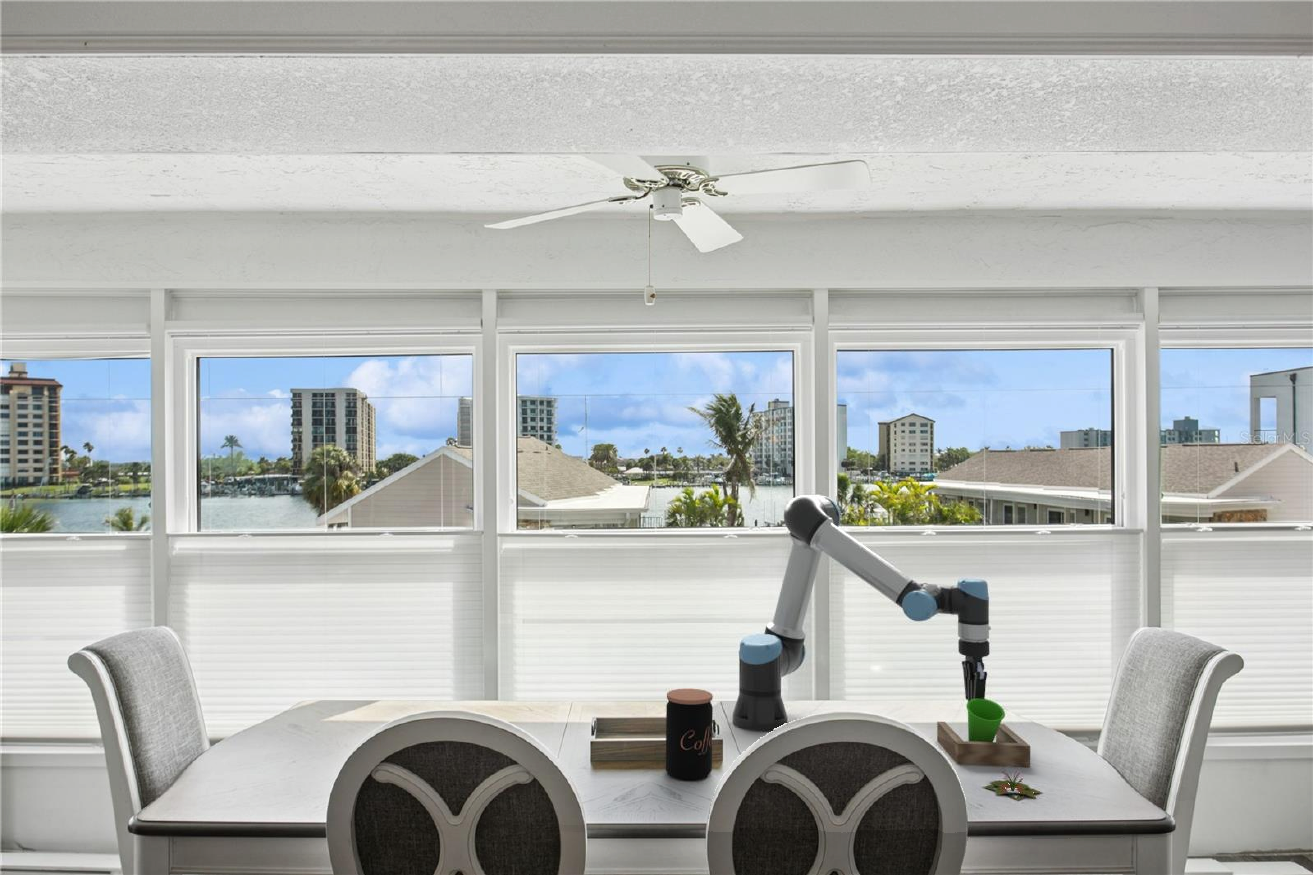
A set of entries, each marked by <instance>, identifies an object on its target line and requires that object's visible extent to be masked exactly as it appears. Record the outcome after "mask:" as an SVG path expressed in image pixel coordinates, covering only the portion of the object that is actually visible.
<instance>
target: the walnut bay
mask: <svg viewBox="0 0 1313 875" xmlns="http://www.w3.org/2000/svg"><path fill="white" fill-rule="evenodd" d="M936 726H937V727H936V728H937V729H936V734H937V735H936V742H938V744H940V747H942V748H943V750H944V751H945V752H946V753H947V754H948V755H949V756H950V758H951V759H952V761H954V762H955V764H956V765H958V766H979V767H980V766H984V767H985V766H986V767H1007V766H1022V767H1021V768H1031V745H1030V744H1028V743H1027V742H1026V741H1025V740H1024V739H1023V738H1022V737H1020V736H1019V735H1018V734H1017V733H1015V732H1014V731H1013V730H1012V729H1011V728H1010V727H1009V726H1008V725H1006V724H1005V723H1000V726H999V728H998V731H997V733H996V736H995V742H994V741H993V742H973V741H969V740H968V741H967V740H963V739H962V738H961V737H960V736H959V735H958V734H957V733H956V731H954V730H953V728H951V726H949V724H948V723H947V722H946V721H937V722H936ZM1023 766H1024V767H1023Z"/></svg>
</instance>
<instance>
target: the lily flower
mask: <svg viewBox="0 0 1313 875" xmlns="http://www.w3.org/2000/svg"><path fill="white" fill-rule="evenodd" d="M1001 773H1002V774H1004V777H1002V780H994V781H993V780H992V781H990V783H991V784H987V785H985V786H983V788H985V789H989V790H993V791H995V793H996V794H995V796H1000V795H1004V794H1006V795H1007V796H1009V797H1011V798H1013V799H1015V800H1016V801H1017V802H1019V801H1020V800H1022V799H1023V798H1024V797H1025V796H1024V795H1026V796H1028V797H1030V798H1033V799H1035V800H1037V798H1036V795H1035V794H1040V793H1041V794H1042V793H1043V792H1042V791H1040V790H1037V789H1034V788H1030V787H1029V785H1028V784H1025V783H1022V781H1024V778H1020V779H1019V780H1018V782H1017V779H1018V778H1019V775H1020V774H1021V772H1018V773H1017V771H1015V774H1014V775H1012V773H1011V774H1010V775H1009V774H1008V773H1007V771H1006V770H1005V768H1003V771H1001ZM1012 777H1013V779H1012ZM1008 783H1009V784H1010V785H1009V784H1008ZM1005 787H1006V789H1005ZM1007 788H1011V789H1010V790H1011V791H1012V792H1011V791H1008V789H1007ZM1015 788H1017V789H1015ZM1015 790H1016V791H1017V790H1018V791H1017V794H1019V795H1018V796H1014V795H1013V792H1015ZM1019 792H1020V793H1019ZM1033 792H1034V793H1033ZM1020 794H1021V795H1020ZM1015 797H1016V798H1015Z"/></svg>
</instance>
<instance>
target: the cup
mask: <svg viewBox="0 0 1313 875" xmlns="http://www.w3.org/2000/svg"><path fill="white" fill-rule="evenodd" d="M965 705H966V710H967V728H968V731H967V732H968V734H967V735H968V738H967V739H968V741H973V742H994V740H995V739H996V733H997V731H998V728H999V726H1000V724H1002V720H1004V718H1005V717H1006V712H1005V709H1004V708H1003V707H1002V706H1001V705H1000V704H998V703H997V702H995V701H993V700H991V699H987V698H985V699H982V698H976V699H972V700H970V701H969V702H968V701H967V703H966V704H965Z"/></svg>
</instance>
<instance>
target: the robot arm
mask: <svg viewBox="0 0 1313 875" xmlns="http://www.w3.org/2000/svg"><path fill="white" fill-rule="evenodd" d="M783 510H784V511H783V521H784V524H785V527H786V528H787V529H788V531H789V537H790V539H791V541H792V545H791V549H790V553H789V558H788V561H787V565H786V569H785V573H784V577H783V580H782V584H781V589H780V591H779V596H778V600H777V604H776V608H775V611H774V616H773V619H772V620H771V621H769V622H768V623H766V625H765V630H764V632H763V633H759V634H757V633H756V634H752V635H748V636H745V637H743V638H742V640H740V642H739V650H738V657H739V658H738V660H739V663H738V666H739V667H738V669H739V670H738V672H739V673H738V674H739V675H738V679H739V681H738V683H739V684H738V690H739V692H738V697H737V700H736V702H735V706H734V708H733V712H732V723H733V725H735V726H737V727H738V728H742V729H744V730H750V731H757V732H758V731H761V732H762V731H763V732H768V731H769V732H770V731H771V730H772V731H774V730H773V729H774V728H777V727H779V726H781V725H783V724H784V723H787V724H788V714H787V711H786V710H787V709H786V708H785V704H784V702H783V701H784V700H783V699H782V698H783V697H782V678H784V677H785V676H787V675H790V674H792V673H794V672H796V671H797V670H798V669H799V668H800V667H801V666H802V665H803V663H804V661H805V657H806V645H805V644H804V642H805V639H806V634H805V632H804V630H803V627H804V626H803V625H804V621H805V618H806V614H807V610H808V606H809V603H810V599H811V595H812V591H813V588H814V587H813V586H814V584H815V579H816V576H817V572H818V570H819V569H818V568H819V564H820V560H821V557H822V552H823V553H825V554H827V555H828V556H829V557H831V558H832V559H834V560H835V561H836V562H838V563H839V564H841V565H842V566H843V567H844V568H846V569H848V570H849V571H850V572H852V573H853V574H854V575H856V577H858V578H859V579H861V580H862V581H863V582H865V583H866V584H868V585H869V586H871V587H872V588H873V589H875V590H877V592H880V594H881V595H883V596H885V597H886V598H888V599H889V600H890V601H891V602H893V603H894V604H896V605H897V606H898V607H900V608H901V609H902V611H903V613H904V615H905V616H906V617H907V618H909V619H910V620H912V621H914V622H923V621H928V620H930V619H931V618H934V616H935V615H938V614H942V615H951V616H952V615H957V636H958V637H959V639H958V653H959V654H960V655H962V656H964V657H965V658H964V659H965V660H961V666H962V672H963V681H964V682H963V683H964V695H965V700H967V703H968V702H969V701H970V700H972V699H976V698H982V699H986V686H987V684H986V683H987V677H988V672H987V671H984V670H985V663H984V662H983V658H984V657H988V656H989V655H990V641H989V639H990V630H992V629H991V628H992V626H990V614H989V613H990V609H989V608H990V601H989V600H990V597H989V587H988V585H989V584H988V583H987V581H986V580H985V579H981V578H975V577H974V578H972V577H971V578H968V577H967V578H966V577H964V578H958V580H957V583H956V585H947V584H946V585H945V584H933V583H927V582H924V583H918V582H916V581H915V580H913V579H912V578H911V577H910V576H908V575H907V574H906V573H904V572H902V571H901V570H900V569H899V568H897V567H895V566H894V565H893V564H892V563H889V562H888V561H886V559H884V558H883V557H881V556H880V555H878V554H877V553H876V552H874V551H872V550H871V549H869V548H868V547H866V546H865V545H864V544H863V543H861V542H860V541H858V540H857V539H855V538H854V537H852V536H851V535H850V534H848V533H847V532H846V531H844V530H842V529H841V528H840V527H839V526H840V523H841V519H842V518H841V510H840V507H839V506H838V504H837V502H836V501H835V500H833V499H832V498H831V497H828V496H826V495H823V494H817V493H816V494H815V493H814V494H810V495H809V494H808V495H807V494H802V495H798V496H796V497H793V498H792V499H791V500H790V501H789V502H788V503H787V505H785V508H784V509H783Z"/></svg>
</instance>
